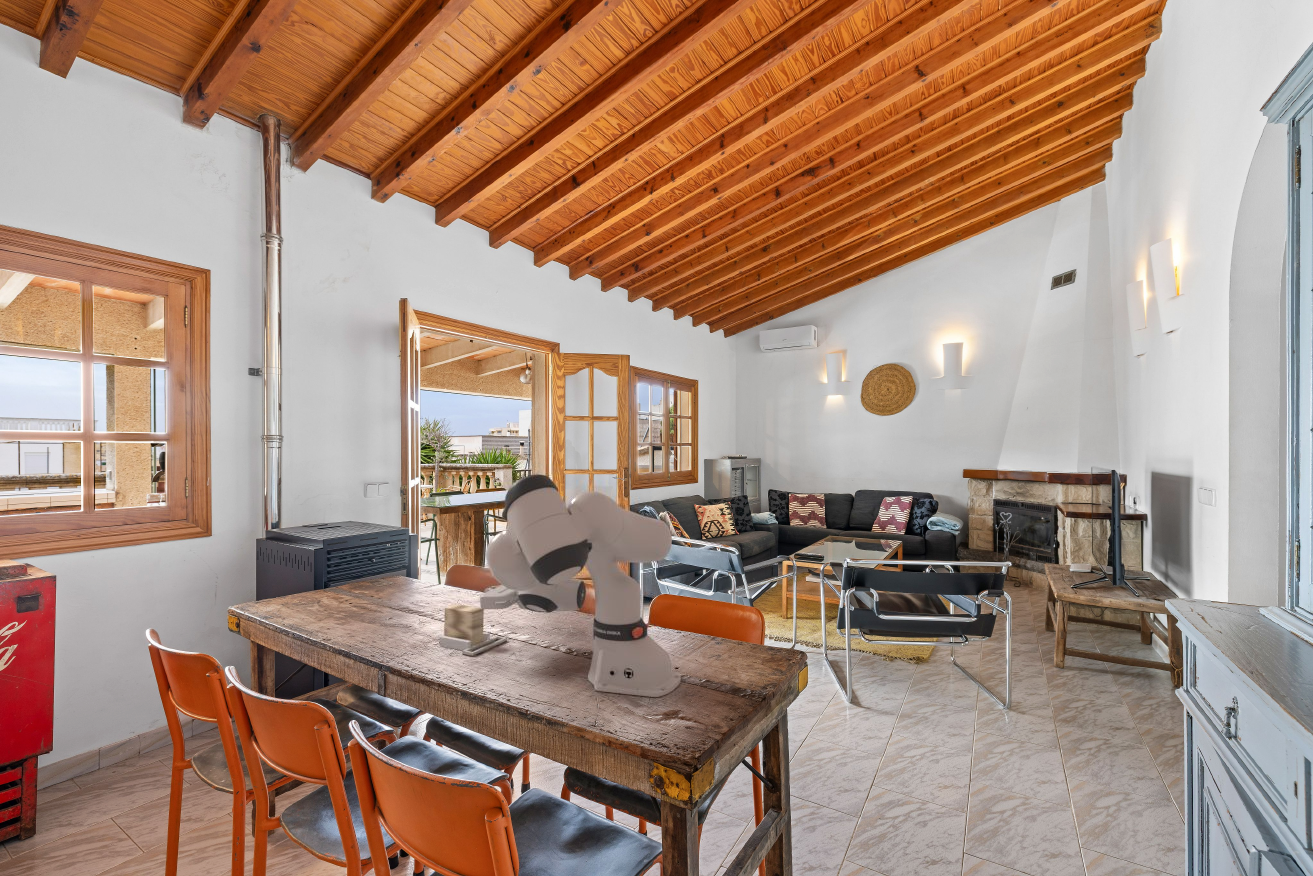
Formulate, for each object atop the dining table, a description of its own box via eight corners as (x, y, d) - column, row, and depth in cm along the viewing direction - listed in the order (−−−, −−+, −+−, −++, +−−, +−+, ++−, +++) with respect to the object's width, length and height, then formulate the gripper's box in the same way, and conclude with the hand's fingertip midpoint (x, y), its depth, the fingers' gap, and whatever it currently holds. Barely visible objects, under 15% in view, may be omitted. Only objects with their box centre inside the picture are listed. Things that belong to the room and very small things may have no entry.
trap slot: (506, 641, 169) (506, 637, 169) (472, 656, 156) (472, 653, 156) (497, 639, 171) (497, 636, 171) (462, 654, 158) (462, 650, 158)
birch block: (483, 644, 167) (483, 608, 167) (471, 649, 163) (472, 612, 163) (455, 639, 171) (456, 604, 171) (444, 643, 167) (444, 607, 167)
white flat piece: (489, 641, 168) (489, 633, 168) (467, 651, 160) (467, 642, 160) (462, 636, 173) (462, 628, 173) (439, 646, 165) (439, 636, 165)
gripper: (508, 617, 149) (463, 614, 154) (551, 593, 168) (510, 591, 173) (506, 592, 149) (461, 590, 154) (549, 571, 168) (508, 570, 173)
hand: (487, 590), depth 164 cm, fingers closed
